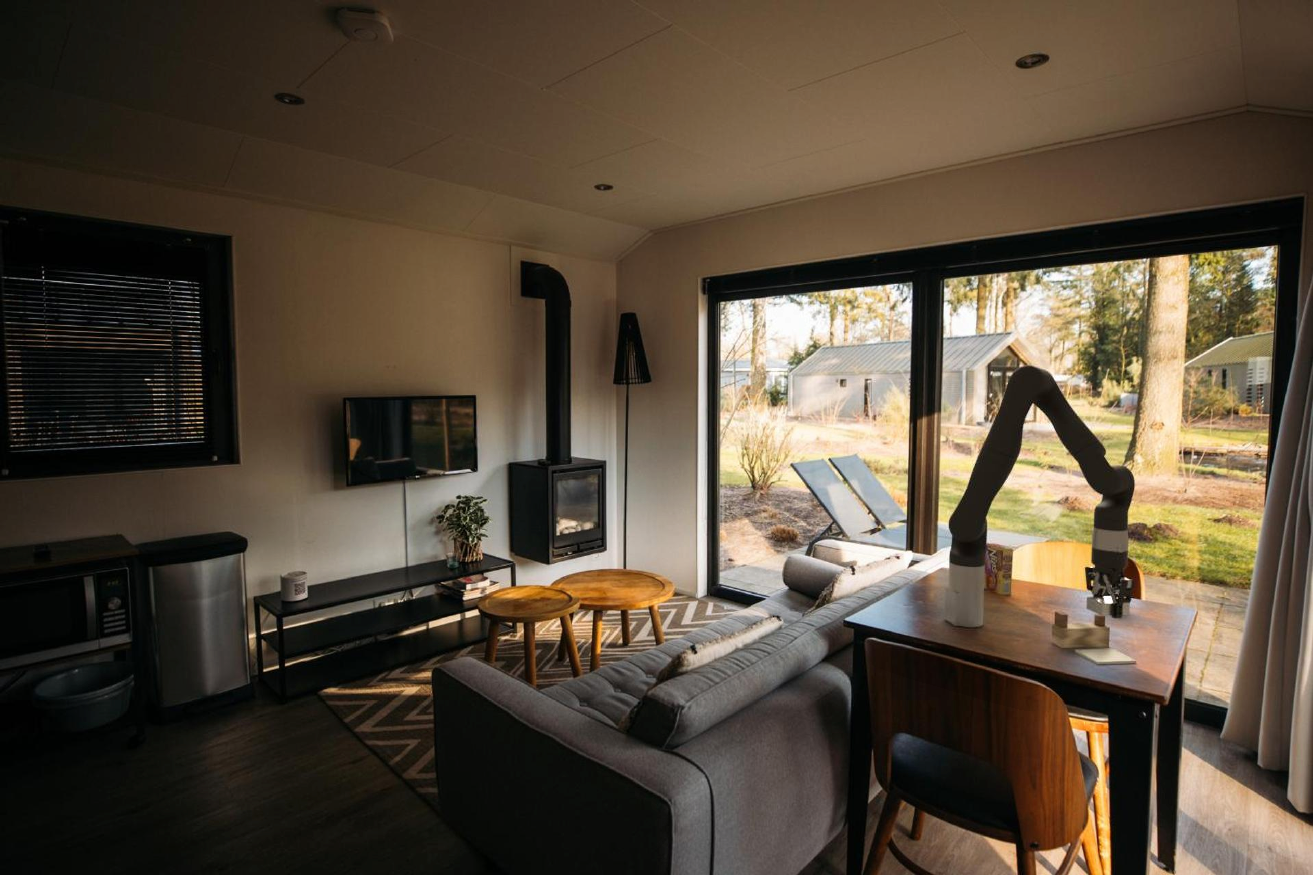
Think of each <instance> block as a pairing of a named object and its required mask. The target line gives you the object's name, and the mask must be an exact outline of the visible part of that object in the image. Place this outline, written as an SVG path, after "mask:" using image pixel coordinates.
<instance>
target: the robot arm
mask: <svg viewBox="0 0 1313 875" xmlns="http://www.w3.org/2000/svg"><path fill="white" fill-rule="evenodd" d="M1033 405H1035V406H1036V407H1037V408H1038V409H1039V410H1040V411H1041V412H1042V413H1043V414H1044V415H1045V417H1046V418H1048V420H1049V422H1050V423H1051V426H1052V427H1053V429H1054V431H1055V433H1056V435H1057V437H1058V438H1059V441H1060V442H1061V444H1062V445H1063V446H1064V448H1066V450H1067V451H1068V453H1069V454H1070V455H1071V456H1072V458H1073V459H1074V460H1075V461H1076V462H1077V464H1078V466H1079V469H1080V470H1081V472H1082V474H1083V477H1084V479H1085V481H1086V482H1087V484H1088V485H1089V487H1090V488H1091V489H1092V490H1093V491H1094V492H1095V493H1097V494H1098V495H1102V496H1101V501H1100V503H1098V504H1097V505H1096V506H1095V508H1094V512H1093V529H1092V535H1091V558H1090V559H1091V560H1090V563H1091V564H1092V565H1093V566H1085V567H1084V572H1085V584H1086V590H1087V591H1090V592H1091V595H1093V596H1092V597H1101V596H1103V594H1104V592H1105V590H1106V588H1107V590H1108V593H1109V594H1110V595H1111V598H1112V602H1113V603H1112V612H1111V615H1110V616H1111V618H1112V619H1122V617H1123V616H1124V615H1123V613H1122V612H1123V604H1124V603H1131V602H1132V598H1133V592H1134V587H1135V580H1134V579H1129V578H1127V577H1125V572H1124V570H1125V569H1126V568H1127V567H1128V566H1129V564H1128V560H1129V559H1128V558H1129V535H1128V534H1129V533H1128V532H1129V531H1128V529H1129V528H1128V526H1129V510H1130V507H1131V504H1132V500H1133V496H1134V493H1135V487H1136V485H1135V484H1136V482H1135V481H1136V480H1135V476H1134V474H1133V473H1132V471H1131V470H1130V469H1129V468H1128V467H1126V466H1124V465H1119V464H1117V465H1111V464H1110V462H1108V460H1107V458H1106V454H1107V450H1106V448H1105V446H1104V444H1103V443H1102V442H1101V441H1100V440H1099V438H1098V437H1097V436H1096V435H1095V434H1094V433H1093V432H1092V430H1091V429H1090V428H1089V427H1088V426H1087V424H1085V422H1084V421H1083V420H1082V418H1080V416H1079V415H1078V414H1077V413H1076V411H1075V409H1073V407H1072V406H1071V404H1070V403H1069V402H1068V400H1067V398H1066V397H1065V396H1064V393H1063V392H1062V390H1061V388H1060V387H1059V385H1058V383H1057V381H1056V380H1055V378H1054V377H1053V375H1052V373H1050V372H1049V371H1048V370H1046V369H1044V368H1042V367H1039V366H1034V365H1030V364H1029V365H1028V364H1026V365H1022V366H1020V367H1018V368H1016V369H1015V370H1014V371H1012V373H1011V376H1010V377H1009V378H1008V382H1007V384H1006V387H1005V390H1004V394H1003V397H1002V399H1001V402H1000V406H999V409H998V411H997V413H996V415H995V418H994V420H993V422H992V424H991V427H990V428H989V431H988V433H987V436H986V438H985V439H984V442H983V444H982V446H981V449H980V450H979V452H978V455H977V457H976V460H975V463H974V466H973V468H972V471H971V473H970V477H969V480H968V483H967V487H966V489H965V490H964V491H965V492H964V493H963V496H962V497H961V498H960V501H959V502H958V503H957V506H956V507H955V509H954V511H953V512H952V514H951V515H950V517H949V518H948V530H949V532H950V534H951V546H950V550H949V556H948V557H949V559H948V562H949V563H948V586H946V587H945V588H944V590H945V591H944V592H945V593H944V620H945V621H947V622H949V623H950V624H952V625H953V626H955V627H964V628H979V627H982V626H983V623H984V620H983V619H984V597H985V596H984V594H985V593H984V592H985V588H984V567H985V555H986V544H987V543H988V541H987V540H988V520H987V516H988V514H989V510H990V508H991V506H992V504H993V501H994V499H995V497H996V496H997V495H998V493H999V492H1000V490H1001V489H1002V487H1003V486H1004V485H1005V483H1006V482H1007V480H1008V478H1009V476H1010V475H1011V473H1012V471H1013V468H1014V467H1015V464H1016V462H1017V460H1018V458H1019V455H1020V453H1021V449H1022V446H1023V445H1022V443H1023V434H1024V425H1025V421H1026V418H1027V416H1028V413H1029V412H1030V410H1031V408H1032V406H1033ZM1099 588H1100V589H1099ZM1117 588H1118V590H1114V589H1117ZM1116 593H1117V594H1118V598H1117V597H1116Z"/></svg>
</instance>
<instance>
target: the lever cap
mask: <svg viewBox="0 0 1313 875" xmlns="http://www.w3.org/2000/svg"><path fill="white" fill-rule="evenodd" d="M1112 603H1113V602H1112V598H1111V596H1101V597H1093V596H1086V610H1088V611H1091V612H1094V614H1100V615H1102V616H1105V617H1106V616H1111V612H1112ZM1130 603H1131V602H1130ZM1130 603H1124V604H1123V612H1122V613H1123V615H1122V616H1124V615H1125V616H1126V615H1130V609H1131V607H1130V605H1131V604H1130Z"/></svg>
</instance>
